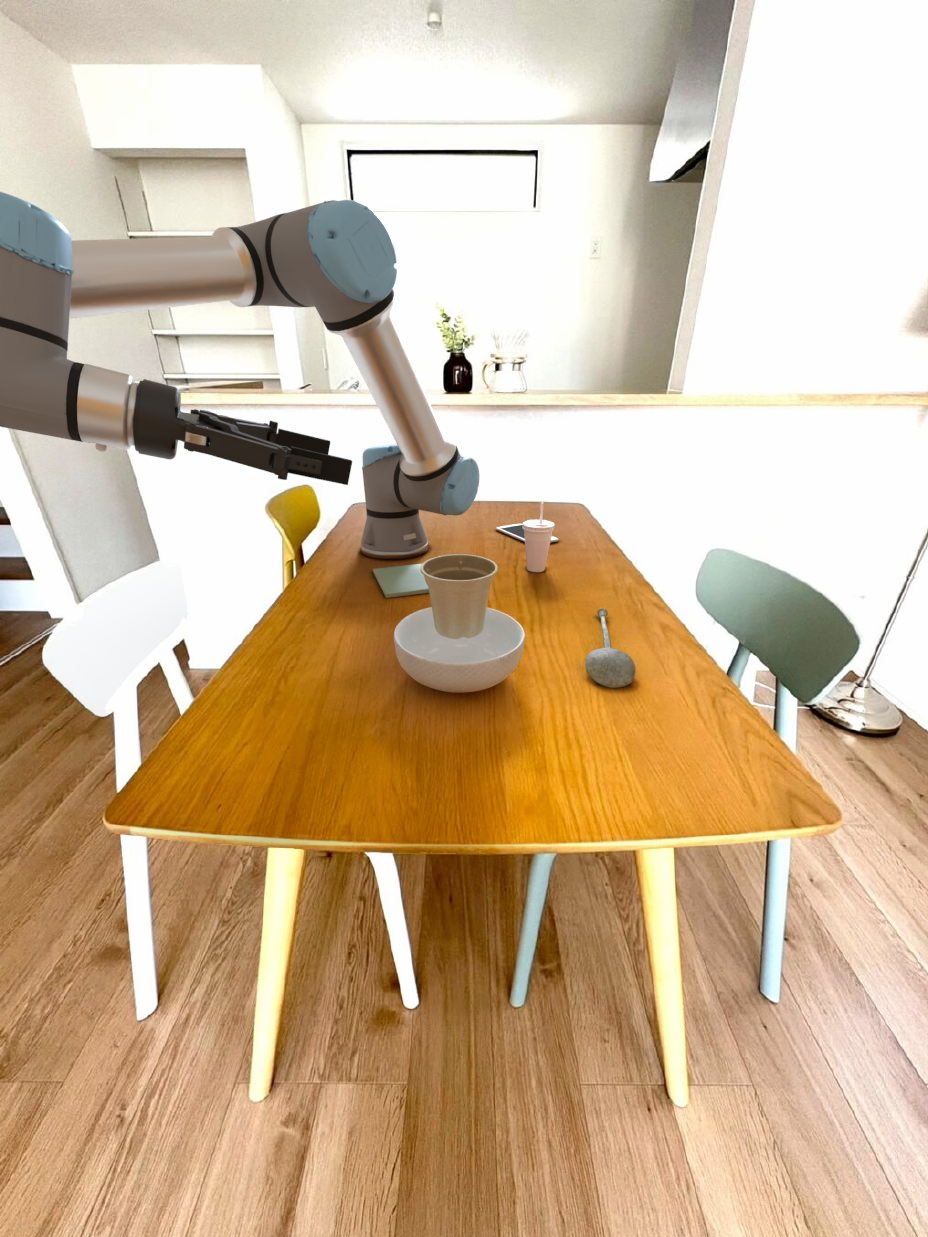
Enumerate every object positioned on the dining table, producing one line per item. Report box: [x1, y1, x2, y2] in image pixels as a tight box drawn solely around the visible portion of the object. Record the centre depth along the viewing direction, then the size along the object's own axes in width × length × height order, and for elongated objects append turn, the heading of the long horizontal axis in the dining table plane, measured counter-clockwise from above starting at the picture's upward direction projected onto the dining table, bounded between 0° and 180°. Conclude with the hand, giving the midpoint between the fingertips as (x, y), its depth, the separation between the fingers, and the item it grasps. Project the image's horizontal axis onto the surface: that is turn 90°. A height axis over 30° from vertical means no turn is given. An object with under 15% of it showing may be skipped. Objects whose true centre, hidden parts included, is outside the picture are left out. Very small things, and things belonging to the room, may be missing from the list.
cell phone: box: [495, 523, 559, 544], centre depth 130 cm, size 8×16×1 cm, turn 30°
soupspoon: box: [585, 607, 637, 689], centre depth 77 cm, size 22×3×7 cm
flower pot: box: [420, 553, 499, 639], centre depth 65 cm, size 9×9×9 cm
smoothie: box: [522, 501, 555, 573], centre depth 105 cm, size 6×6×14 cm
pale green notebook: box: [372, 563, 429, 599], centre depth 102 cm, size 14×14×1 cm
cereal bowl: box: [393, 606, 526, 694], centre depth 69 cm, size 17×17×7 cm
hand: (338, 461), depth 64 cm, fingers open, 13 cm apart
